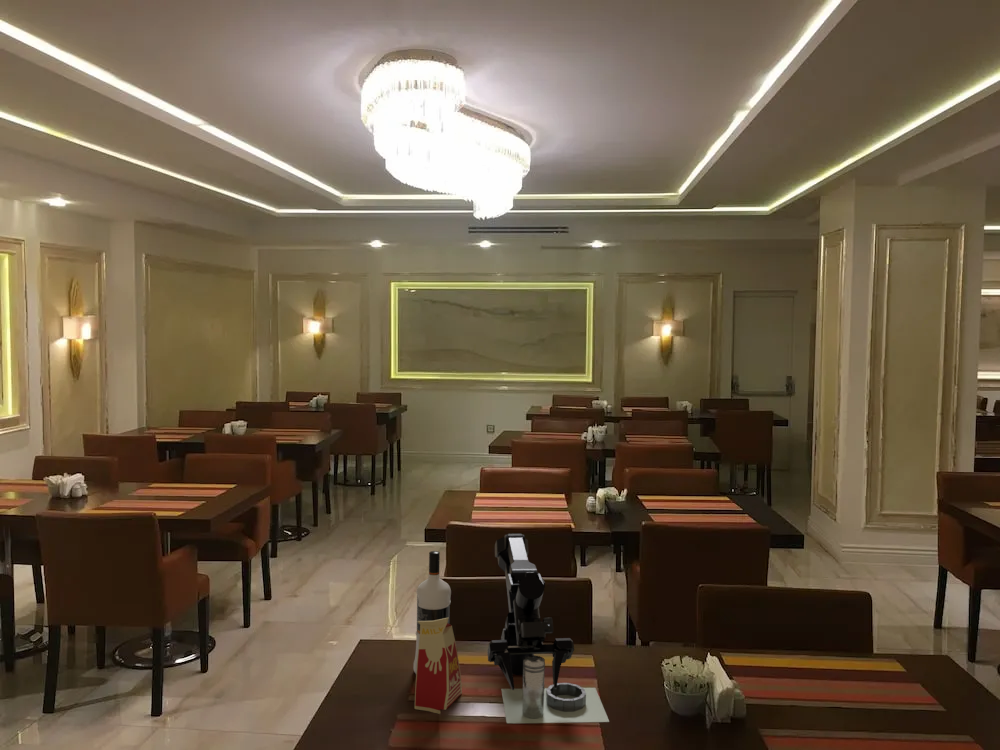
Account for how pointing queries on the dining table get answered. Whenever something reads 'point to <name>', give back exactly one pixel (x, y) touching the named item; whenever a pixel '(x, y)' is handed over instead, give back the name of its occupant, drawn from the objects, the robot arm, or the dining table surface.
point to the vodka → (432, 598)
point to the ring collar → (566, 704)
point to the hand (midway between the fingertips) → (534, 688)
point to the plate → (588, 714)
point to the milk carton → (437, 667)
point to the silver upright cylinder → (533, 687)
